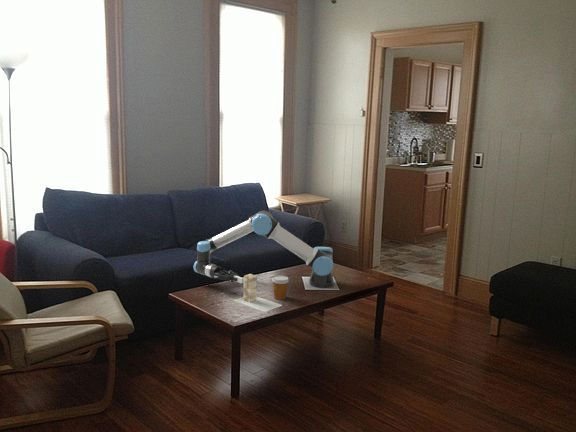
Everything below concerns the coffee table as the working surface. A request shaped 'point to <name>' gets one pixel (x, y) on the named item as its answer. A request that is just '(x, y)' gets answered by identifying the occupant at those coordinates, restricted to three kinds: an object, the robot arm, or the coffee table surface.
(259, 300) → the mat
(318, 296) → the coffee table surface
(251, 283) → the block
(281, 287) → the disposable coffee cup
